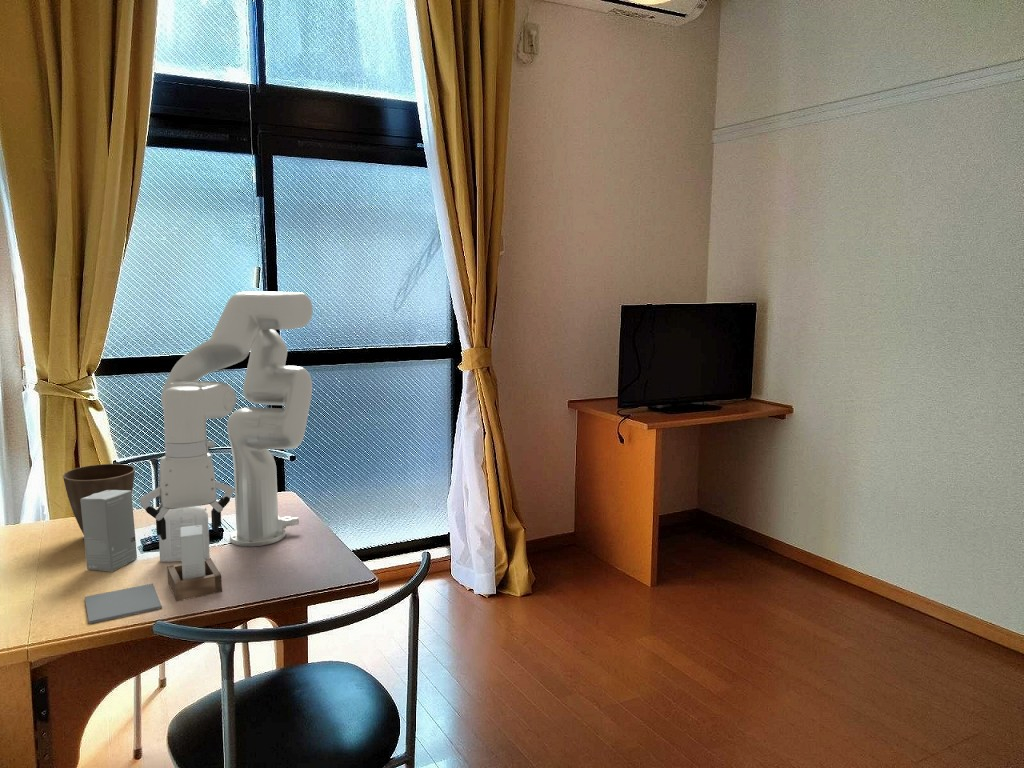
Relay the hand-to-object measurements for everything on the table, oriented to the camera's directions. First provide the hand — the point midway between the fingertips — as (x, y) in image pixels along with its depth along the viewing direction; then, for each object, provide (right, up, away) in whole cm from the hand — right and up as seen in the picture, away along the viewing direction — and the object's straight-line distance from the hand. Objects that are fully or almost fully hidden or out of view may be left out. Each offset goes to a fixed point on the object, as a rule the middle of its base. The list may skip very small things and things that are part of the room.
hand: (189, 533), depth 147 cm
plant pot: (-34, -7, +30) cm, 46 cm away
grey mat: (-10, -12, -5) cm, 17 cm away
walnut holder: (0, -11, +2) cm, 11 cm away
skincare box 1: (-23, -10, +14) cm, 28 cm away
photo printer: (-8, -9, +17) cm, 21 cm away
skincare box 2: (0, -11, +2) cm, 12 cm away
